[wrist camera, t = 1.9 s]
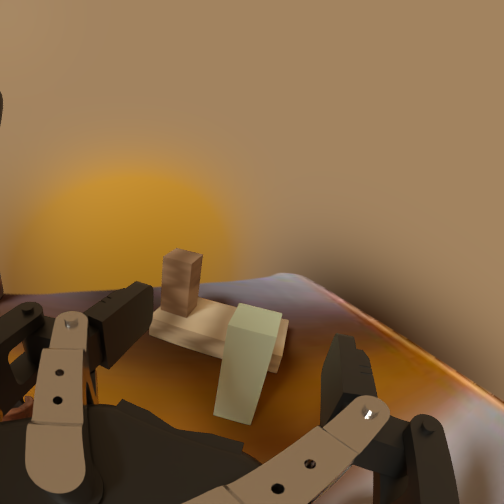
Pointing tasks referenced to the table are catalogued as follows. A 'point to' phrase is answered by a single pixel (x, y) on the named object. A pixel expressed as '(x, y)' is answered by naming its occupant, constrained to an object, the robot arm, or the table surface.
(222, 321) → the base slab
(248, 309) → the pillar
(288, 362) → the table surface
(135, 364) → the table surface
